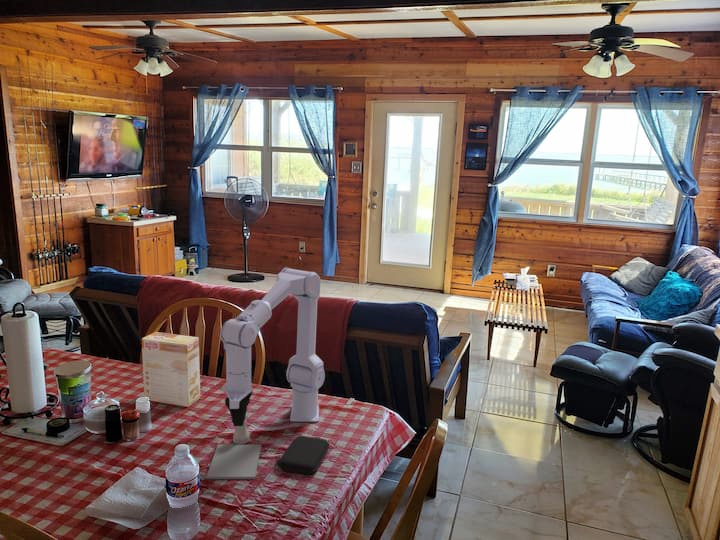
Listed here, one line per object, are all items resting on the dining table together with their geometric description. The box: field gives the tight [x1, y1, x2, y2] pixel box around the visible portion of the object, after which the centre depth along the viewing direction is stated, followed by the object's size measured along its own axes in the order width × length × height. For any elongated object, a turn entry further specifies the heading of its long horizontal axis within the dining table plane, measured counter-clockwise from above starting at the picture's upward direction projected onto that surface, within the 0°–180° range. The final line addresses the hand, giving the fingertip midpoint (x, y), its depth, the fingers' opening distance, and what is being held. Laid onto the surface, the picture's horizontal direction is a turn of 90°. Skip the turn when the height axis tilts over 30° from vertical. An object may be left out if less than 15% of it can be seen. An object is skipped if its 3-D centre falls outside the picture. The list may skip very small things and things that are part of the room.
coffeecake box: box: [141, 331, 201, 408], centre depth 162 cm, size 15×7×20 cm, turn 76°
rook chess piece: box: [232, 413, 251, 445], centre depth 141 cm, size 4×4×8 cm
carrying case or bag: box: [276, 435, 330, 477], centre depth 135 cm, size 11×3×15 cm
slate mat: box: [205, 444, 262, 480], centre depth 132 cm, size 14×11×1 cm
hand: (239, 422), depth 130 cm, fingers closed
